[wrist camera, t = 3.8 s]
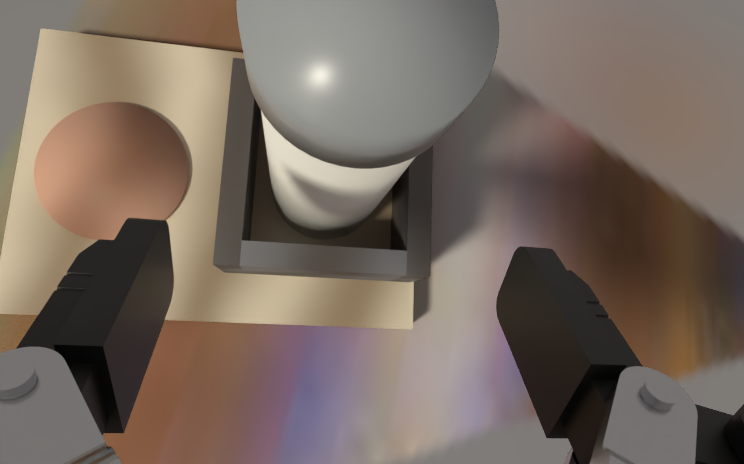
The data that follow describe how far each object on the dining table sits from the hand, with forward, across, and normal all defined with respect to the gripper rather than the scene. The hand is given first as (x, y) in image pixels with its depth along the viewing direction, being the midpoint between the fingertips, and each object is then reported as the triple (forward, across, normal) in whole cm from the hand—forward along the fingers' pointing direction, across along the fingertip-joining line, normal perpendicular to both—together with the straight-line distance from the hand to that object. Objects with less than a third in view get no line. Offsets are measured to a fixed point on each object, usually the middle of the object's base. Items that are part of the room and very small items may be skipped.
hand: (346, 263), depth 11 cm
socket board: (+13, +4, +6) cm, 15 cm away
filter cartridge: (+12, 0, +5) cm, 13 cm away
